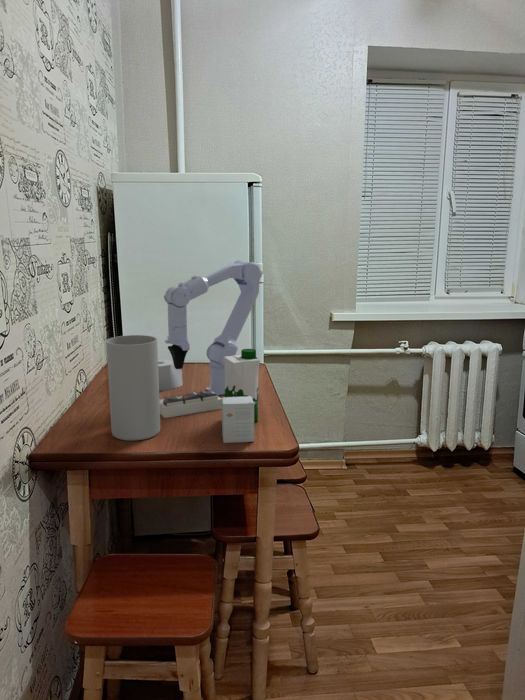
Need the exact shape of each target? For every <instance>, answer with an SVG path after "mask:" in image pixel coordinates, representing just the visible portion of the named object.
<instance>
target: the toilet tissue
mask: <svg viewBox="0 0 525 700" xmlns="http://www.w3.org/2000/svg"><path fill="white" fill-rule="evenodd" d="M158 377H159V392H165V390H166V391H169V389H170V390H173V388H175V389H178V388H177V387H179V388H180V386H181V387H183V386H184V385H183V369H175V366H174V363H173V360H169V359H158ZM182 385H183V386H182Z"/></svg>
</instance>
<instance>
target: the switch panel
mask: <svg viewBox="0 0 525 700" xmlns="http://www.w3.org/2000/svg"><path fill="white" fill-rule="evenodd" d="M182 396H183V395H182ZM182 396H179V397H180V398H181V399H182ZM199 397H200V398H199V399H192V400H186V401H185V402H184V401H183V399H182V401H179V402H173V403H166V402H165V401H164V398H161V399H160V398H159V405H160V416H161V417H163V419H167V418H168V419H169V418H174V417H179V416H185V415H192V414H197V413H204V412H209V411H216V410H220V409H221V410H222V397H220V396H219V395H217V396H212V397H205V398H202V397H201V396H200V395H199Z"/></svg>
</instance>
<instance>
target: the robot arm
mask: <svg viewBox="0 0 525 700" xmlns="http://www.w3.org/2000/svg"><path fill="white" fill-rule="evenodd" d="M262 276H263V273H262V271H261V268H260V266H259V264H258V263H257V262H254V261H243V260H236V261H234V262H230V263H228V264H227V265H225V266H223V267H221V268H220V269H217V270H215V271H214V272H211V273H210V274H208V275H206V276H204V277H203V276H201V275H193V276H191V277H190V278H191V279H189V280H186V281H184V282H178V286H175V285H174V286H170V287H168V288H167V290H166V291H165V292H164V293H165V294H164V295H163V299H164V301H165V302H166V304H167V326H168V331H167V332H168V335H167V339H165V340H164V343H165V344H170V345H168V346H167V349H168V351H169V353H170V354H171V355H170V356H171V358H172V362H173V363H174V367H175V369H180V370H183V369H184V364H185V360H186V356H187V353H188V351H190V350H191V349H190V343H189V339H188V315H187V314H188V311H187V305H189V303H190V301H192V300H193V299H196V298H198V297H200V296H202V295H204V294H206V293H208V291H209V288H210V287H213V286H215V285H217V284H219V283H221V282H223V281H226V280H229V279H233V280H234V281H235V282H236V284H237V285H238V288H239V290H240V294H239V295H238V298H237V301H236V302H235V304H234V306H233V309H232V310H231V313H230V315H229V317H228V319H227V321H226V323H225V325H224V327H223V330H222V332H221V334H219V335H218V336H217V337H214V340H213V342H212V343H211V344H210V345H208V347H207V349H206V357H207V358H208V360H209V372H210V373H209V374H210V375H209V377H210V382H209V384H210V385H209V386H210V387H205V391H211V392H215V393H216V394H217V396H222V395H225V365H224V357H227V356H233V355H237V351H238V350H239V348H238V344H237V340H238V338H239V336H240V334H241V332H242V330H243V328H244V326H245V323H246V321H247V319H248V317H249V315H250V313H251V311H252V309H253V306H254V304H255V302H256V301H257V298H258V296H259V293H260V282H261V281H260V280H261V278H262Z"/></svg>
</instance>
